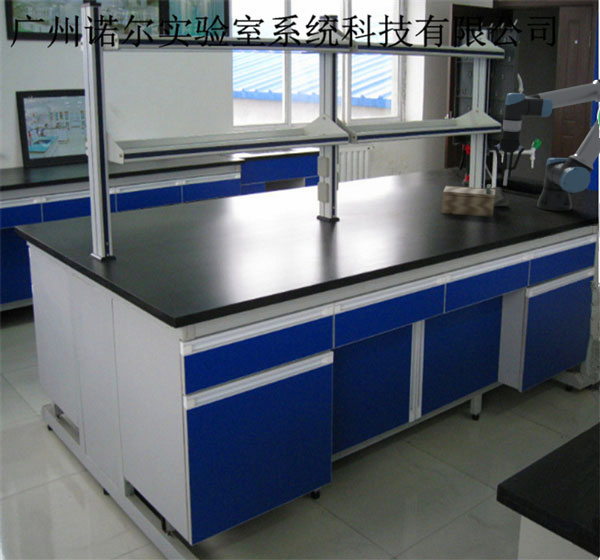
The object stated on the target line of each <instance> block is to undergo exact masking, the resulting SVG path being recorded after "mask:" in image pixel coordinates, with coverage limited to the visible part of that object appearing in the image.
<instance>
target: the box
mask: <svg viewBox="0 0 600 560" xmlns="http://www.w3.org/2000/svg"><path fill="white" fill-rule="evenodd" d="M447 186H448V187H458V186H455V185H447ZM462 187H463V188H473V187H470V186H462ZM476 188H477V189H486V188H487V187H486V188H483V187H476ZM490 189H491V188H490ZM491 190H495V189H491ZM494 199H495V195H488V194H474V193H460V192H446V191H444V190H443V191H442V201H441V214H450V213H452V215H464V216H475V217H476V216H477V217H491V218H493V216H494V207H495V206H494Z"/></svg>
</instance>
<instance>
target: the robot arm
mask: <svg viewBox="0 0 600 560" xmlns="http://www.w3.org/2000/svg"><path fill="white" fill-rule="evenodd" d="M505 97H506V98H505V103H504V113H503V122H502V131H501V139H500V141H499V143H498V144H497V145H496V144H495V145H494V151H495V153H496V161H497V168H498V169H500V170H501V174H500V175H501V178H503V183H502V185H503V186H506V187H507V184H508V179H511V174H512V171H514V170H516V168H517V167H518V163H519V161H520V158H521V155H522V153H523V152H524V151H525V147H524V146H522V145H521V143H520V137H521V130H522V122H523V117H535V118H547V117H550V116H551V114H552V111H553V109H557V108H563V107H567V106H572V105H578V104H582V103H588V102H593V101H595V102H596V103H600V78H599V79H595V80H593V81H592V82H590V83H586V84H581V85H576V86H570V87H566V88H560V89H557V90H551V91H550V90H549V91H546V92H540V93H537V94H536V93H535V94H531V95H526V94H525V93H521V92H509V93H507V95H506V96H505ZM500 149H501V150H502V152H503V157H502V158H503V159H502V163H501V157H500ZM517 150H518V153H517V156H516V158H515V159H514V160H515V161H514V163H513V156H514V153H515V152H516V151H517ZM508 153H509V161H508V169H506V164H507V156H508ZM599 155H600V138H599V124H598V118H597V119H596V121H595V122H594V124H593V125H592V127H591V128H590V131H588V133H587V135H586V137H585V138H584V140H583V141H582V143H581V144H580V146H579V147H578V149H577V150H576V152H575V153H574V154H572V155H570V156H568V157H549V158H547V159H546V164H545V169H544V171H545V172H544V179H543V187H542V188H543V189H542V191H541V194H540V195H539V198H538V200H537V201H536V202H537V204H536V207H537V208H539V209H543V210H548V211H554V212H567V211H571V210H572V208H573V203H572V198H571V197H572V196H571V194H570V193H572V194H576V193H577V194H578V193H580V192H582V191H584V190H585V189H587V187H589V185H590V182H591V174H592V172H593V170H594V165H593V164H594V163H595V161H596V160H597V158H598V157H599Z"/></svg>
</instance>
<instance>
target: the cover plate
mask: <svg viewBox="0 0 600 560" xmlns="http://www.w3.org/2000/svg"><path fill="white" fill-rule="evenodd" d="M448 186H449V185H445V187H444V189H443V191H446V192H460V193H474V194H488V195H495V190H491V188H492V187H491V186H492V184H490V183H488V184H486V189H477V188H478V187H472V188H463V187H464V186H457V187H448Z"/></svg>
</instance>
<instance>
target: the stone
mask: <svg viewBox="0 0 600 560" xmlns="http://www.w3.org/2000/svg"><path fill="white" fill-rule="evenodd" d="M490 189H495V199H494V207H506V206H507V205H508V204H509V203H510V202H509V200H508V197H507V196H506V193H504V192H503V190H502V187H501V186H499V187H498V186H496V187H495V186H494V187H491V188H490Z"/></svg>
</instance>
